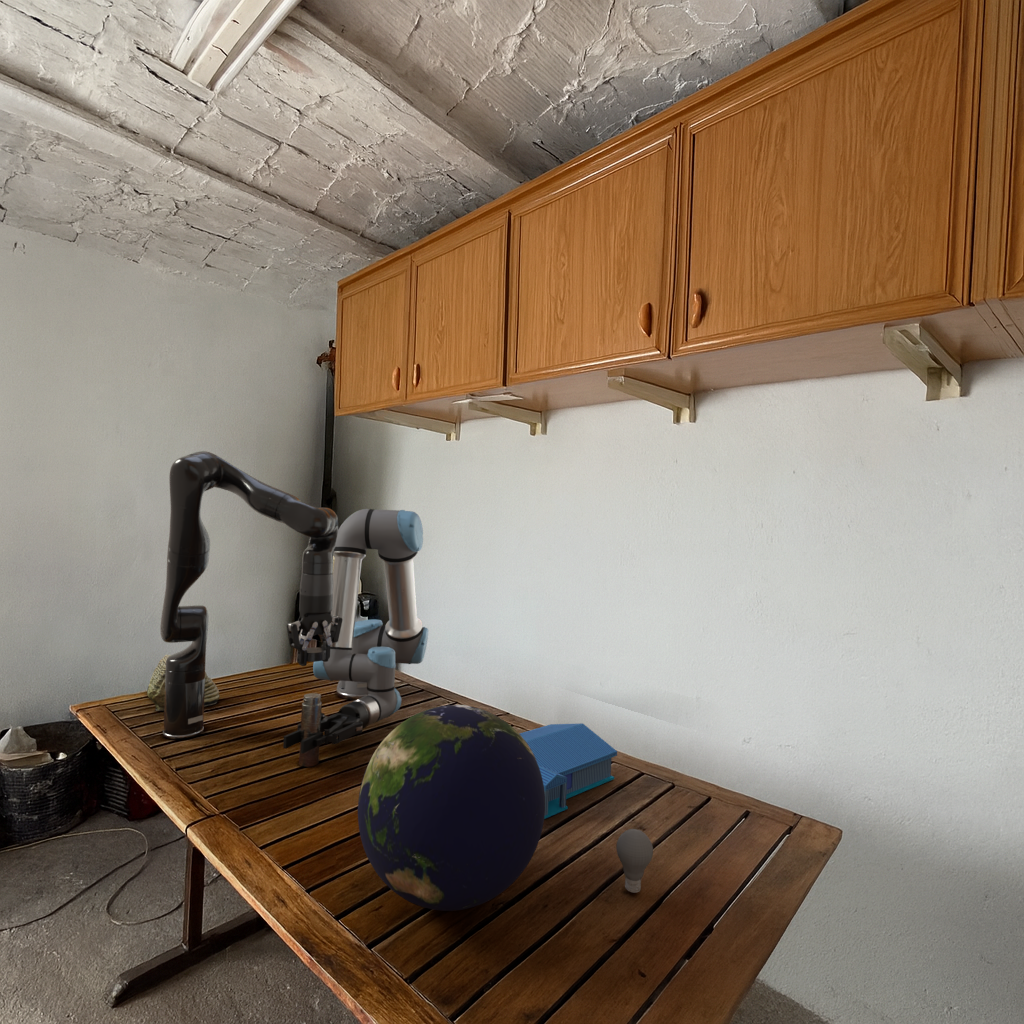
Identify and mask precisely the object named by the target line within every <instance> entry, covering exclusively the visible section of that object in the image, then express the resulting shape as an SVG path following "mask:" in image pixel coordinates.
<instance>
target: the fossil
mask: <svg viewBox="0 0 1024 1024" xmlns="http://www.w3.org/2000/svg"><path fill="white" fill-rule="evenodd" d="M171 655H172V654H165V655H164V656H163V657H162V658H161V659H160V660H159V662H158V663H157V666H156V667H155V669H154V670H153V672H152V675H151V677H150V680H149V684H148V686H149V688H148V687H147V689H148V694H147V693H146V695H147V697H148V699H149V700H150V701H152V703H153V704H154V706H155V711H158V712H159V711H162V712H163V711H164V705H165V674H166V660H167V658H168V657H169V656H171ZM220 698H221V696H220V690H219V688H218V686H217V685H216V683H215V682H214V681H213V679H212V678H211V677H209V675H208V674H207V672H206V671H205V693H204V707H207V706H213V705H215V704H217V703H218V701H219V699H220Z"/></svg>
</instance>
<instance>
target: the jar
mask: <svg viewBox="0 0 1024 1024" xmlns="http://www.w3.org/2000/svg"><path fill="white" fill-rule="evenodd" d="M321 698H322V694H320V693H317V692H315V693H313V692H311V693H306V694H303V702H302V703H301V717H300V723H301V733H300V742H299V753H298V757H299V758H298V765H299V766H300V767H304V768H309V767H310V768H311V767H315V766H317V765H318V764H319V763H320V747H321V745H320V746H317V747H315V748H313V749H311V750H309V751H307V752H305V753H301V741H302V740H304V739H306V738H309V737H311V736H313V735H315V734H317V733H319V732H320V728H321V713H322V709H323V707H322V706H323V703H322V701H321V700H322V699H321Z"/></svg>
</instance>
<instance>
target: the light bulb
mask: <svg viewBox="0 0 1024 1024" xmlns="http://www.w3.org/2000/svg"><path fill="white" fill-rule="evenodd" d="M615 849H616V854H617V857H618V859H619V861H620V863H621V865H622V867H623V873H624V874H623V875H624V876H625V878H624V888H625V890H627V891H628V892H630V893H634V894H635V893H639V892H640V891H641V889H642V887H641V886H642V879H643V877H644V875H645V871H646V868H647V867H648V866H649V864H650V863H651V861H652V859H653V855H654V847H653V843H652V841H651V838H649V836H648V835H647V834H646V833H645V832H643V831H642V830H641V829H636V828H629V829H627V830H625V831H623V832H622V833H621V834H620V835H619V837H618V839H617V841H616V847H615Z"/></svg>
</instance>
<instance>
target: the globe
mask: <svg viewBox="0 0 1024 1024" xmlns="http://www.w3.org/2000/svg"><path fill="white" fill-rule="evenodd" d="M358 794H359V795H358V801H357V824H358V831H359V836H360V840H361V843H362V847H363V849H364V852H365V856H366V858H367V859H368V862H369V863H370V865H371V867H372V868H373V870H374V871H375V873H376V875H377V876H378V877H379V878H380V880H381V881H382V882H383V883H384V884H385V885H386V886H387V887H388V888H389V889H390V890H392V891H393V892H394V893H395V894H396V895H397V896H399V897H400V898H402V899H404V900H405V901H408V902H409V903H411V904H413V905H416V906H419V907H421V908H424V909H428V910H433V911H441V912H453V911H454V912H455V911H462V910H467V909H471V908H475V907H478V906H481V905H483V904H486V903H487V902H489V901H492V900H493V899H495V898H496V897H498V896H499V895H501V894H502V893H504V892H505V891H506V890H507V889H508V888H509V887H510V886H512V885H513V884H514V882H515V881H517V879H518V878H520V876H521V875H522V873H523V872H524V870H526V868H527V867H528V865H529V863H530V862H531V860H532V859H533V856H534V855H535V852H536V850H537V848H538V844H539V843H540V840H541V836H542V832H543V828H544V822H545V819H544V817H545V792H544V785H543V780H542V775H541V772H540V769H539V766H538V764H537V761H536V758H535V756H534V754H533V752H532V750H531V749H530V747H529V746H528V744H527V742H526V741H525V740H524V739H523V738H522V736H521V735H520V733H519V731H517V729H515V728H514V727H513V726H512V725H511V724H510V723H508V722H507V721H505V720H504V719H502V718H501V717H499V716H498V715H496V714H493V713H492V712H490V711H487V710H484V709H483V708H479V707H474V706H470V705H467V704H449V705H440V706H436V707H435V706H434V707H432V708H428V709H424V710H423V711H420V712H418V713H416V714H414V715H412V716H410V717H409V718H406V720H404V721H403V722H401V723H400V724H399V725H397V726H396V727H395V728H394V729H393V730H391V731H390V732H389V734H388V735H387V736H386V737H384V738H383V740H382V741H381V742H380V744H379V745H378V747H377V748H376V749H375V751H374V752H373V754H372V756H371V758H370V759H369V762H368V765H367V767H366V769H365V771H364V774H363V777H362V780H361V784H360V788H359V793H358Z"/></svg>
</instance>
